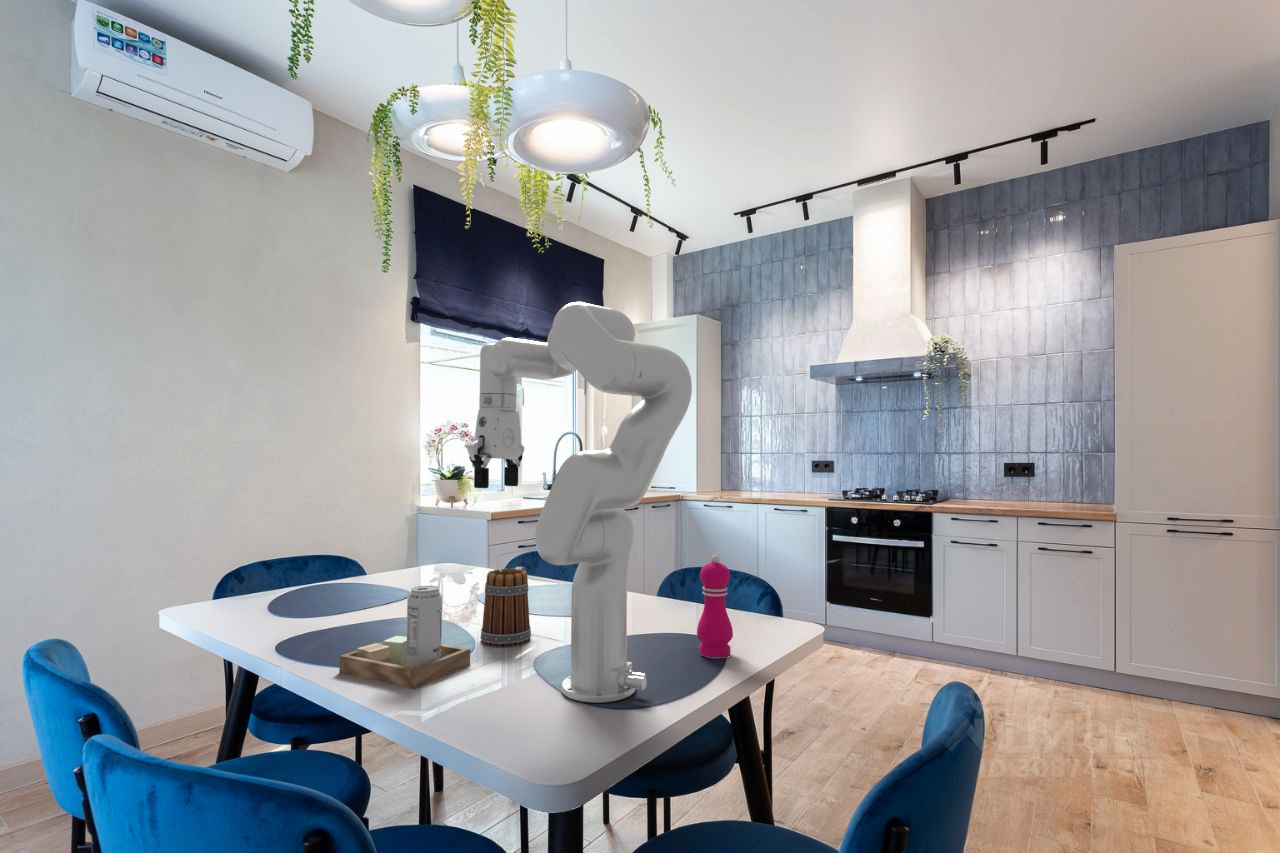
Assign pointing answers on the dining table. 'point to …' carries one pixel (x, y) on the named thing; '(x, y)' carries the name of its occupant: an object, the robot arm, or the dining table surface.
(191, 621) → the dining table surface
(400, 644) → the sage block
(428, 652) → the energy drink can
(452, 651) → the tray
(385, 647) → the beech block
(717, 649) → the pepper mill
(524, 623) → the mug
